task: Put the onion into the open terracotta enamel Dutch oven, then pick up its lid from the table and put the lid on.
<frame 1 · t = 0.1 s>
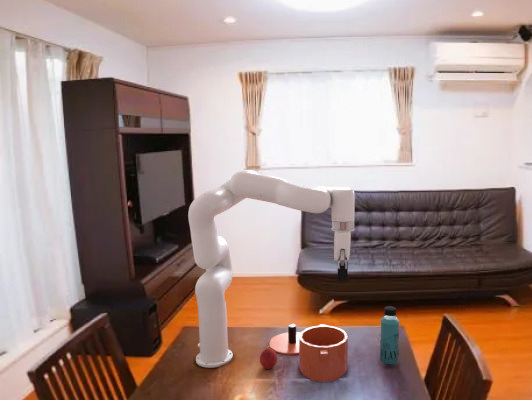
hand: (342, 275, 143), 31 cm above the table, tool pointing down, fingers open, 9 cm apart
onion: (268, 369, 144), on the table
lid: (292, 343, 160), point 1 cm above the table
dutch oven: (323, 368, 144), on the table
beverage bottle: (389, 364, 147), on the table
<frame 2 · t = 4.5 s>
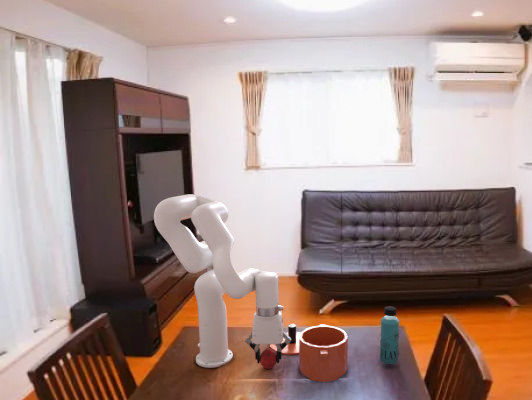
hand: (268, 360, 143), 3 cm above the table, tool pointing down, fingers closed on onion, 5 cm apart
onion: (268, 369, 144), on the table, touching gripper
everything else where it was.
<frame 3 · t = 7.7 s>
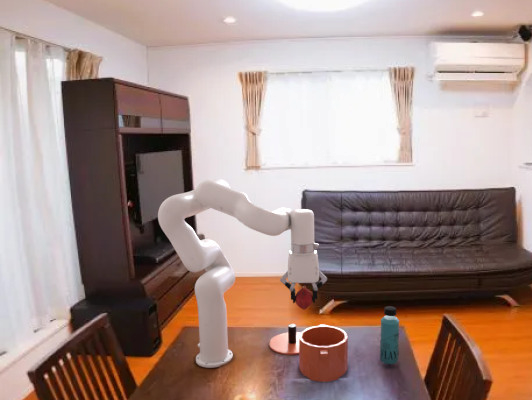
hand: (304, 300, 140), 24 cm above the table, tool pointing down, fingers closed on onion, 5 cm apart
onion: (304, 310, 141), point 21 cm above the table, touching gripper
everything else where it was.
when the fingers open (13 cm above the table, at t = 11.1 s): onion drops 8 cm, resting on dutch oven.
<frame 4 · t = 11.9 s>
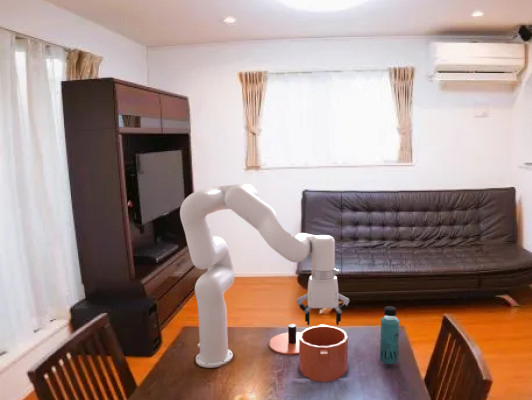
hand: (322, 323, 142), 16 cm above the table, tool pointing down, fingers open, 9 cm apart
onion: (321, 364, 144), point 1 cm above the table, touching dutch oven
everything else where it was.
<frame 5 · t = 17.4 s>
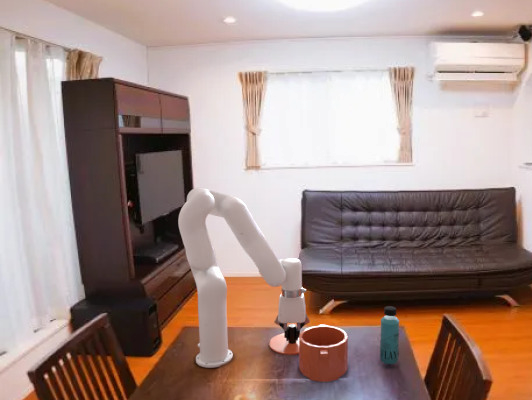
hand: (292, 338, 160), 2 cm above the table, tool pointing down, fingers closed on lid, 3 cm apart
lid: (292, 343, 160), point 1 cm above the table, touching gripper
everything else where it was.
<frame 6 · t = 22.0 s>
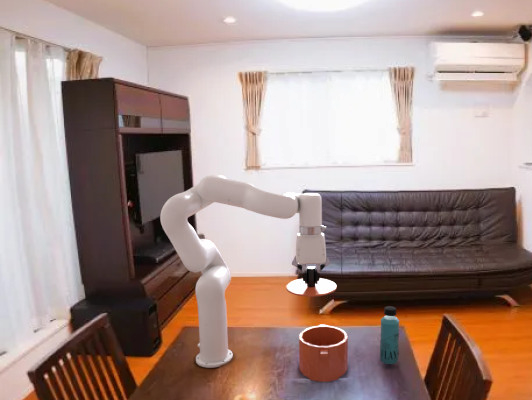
hand: (311, 282, 146), 28 cm above the table, tool pointing down, fingers closed on lid, 3 cm apart
lid: (311, 287, 146), point 26 cm above the table, touching gripper
everything else where it was.
when the fingers open (13 cm above the table, at t = 27.1 s): lid stays where it is, resting on dutch oven.
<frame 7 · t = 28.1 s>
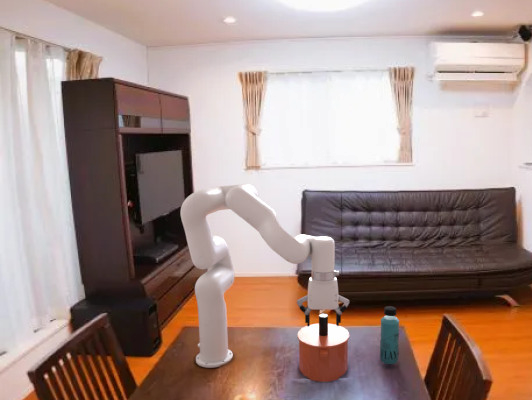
hand: (322, 324, 142), 15 cm above the table, tool pointing down, fingers open, 9 cm apart
lid: (323, 335, 142), point 12 cm above the table, touching dutch oven
everything else where it was.
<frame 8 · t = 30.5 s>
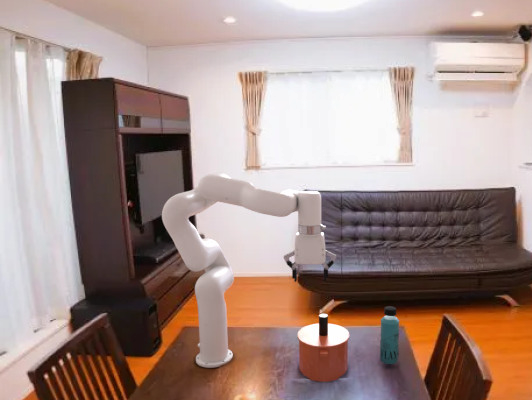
hand: (310, 280, 141), 30 cm above the table, tool pointing down, fingers open, 9 cm apart
nothing on the table moved.
at the end: onion inside the target area in the dutch oven (0.6 cm from its centre), point 1.5 cm above the dutch oven's base; lid 0.1 cm off-centre on the dutch oven, point 11.6 cm above the dutch oven's base; lid tilted 0° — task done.
